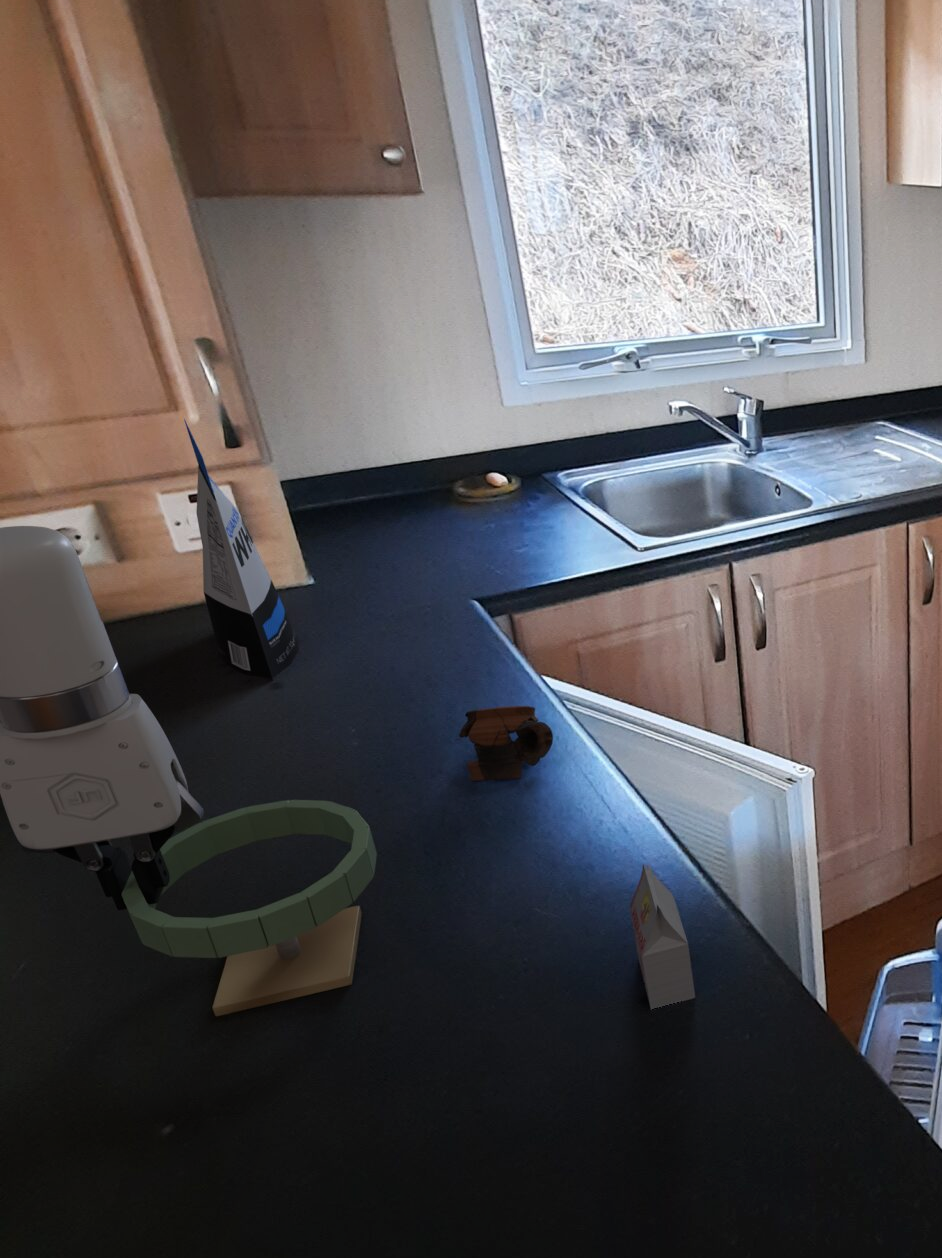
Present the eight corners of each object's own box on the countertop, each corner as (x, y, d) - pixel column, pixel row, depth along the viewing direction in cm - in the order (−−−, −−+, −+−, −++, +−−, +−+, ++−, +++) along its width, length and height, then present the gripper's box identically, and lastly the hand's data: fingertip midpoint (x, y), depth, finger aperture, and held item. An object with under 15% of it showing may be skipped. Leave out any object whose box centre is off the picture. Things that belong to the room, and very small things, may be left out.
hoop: (109, 981, 78) (95, 950, 77) (163, 850, 92) (152, 822, 91) (368, 927, 84) (359, 897, 83) (382, 812, 98) (375, 785, 97)
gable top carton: (680, 947, 94) (667, 857, 90) (695, 997, 89) (682, 904, 84) (638, 958, 93) (623, 867, 88) (650, 1010, 87) (635, 916, 83)
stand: (215, 1017, 86) (192, 961, 83) (237, 940, 94) (217, 887, 92) (352, 984, 90) (334, 930, 87) (362, 913, 98) (346, 861, 95)
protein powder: (231, 690, 136) (154, 464, 123) (210, 627, 153) (141, 423, 140) (313, 671, 141) (249, 452, 128) (284, 612, 158) (225, 414, 145)
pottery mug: (443, 785, 118) (438, 712, 118) (505, 779, 127) (500, 711, 127) (530, 777, 114) (524, 702, 115) (587, 771, 123) (582, 701, 123)
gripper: (-97, 739, 71) (6, 949, 79) (176, 703, 76) (246, 903, 84) (-52, 690, 77) (40, 890, 85) (198, 660, 82) (261, 850, 91)
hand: (142, 895), depth 85 cm, fingers closed on hoop, 1 cm apart
